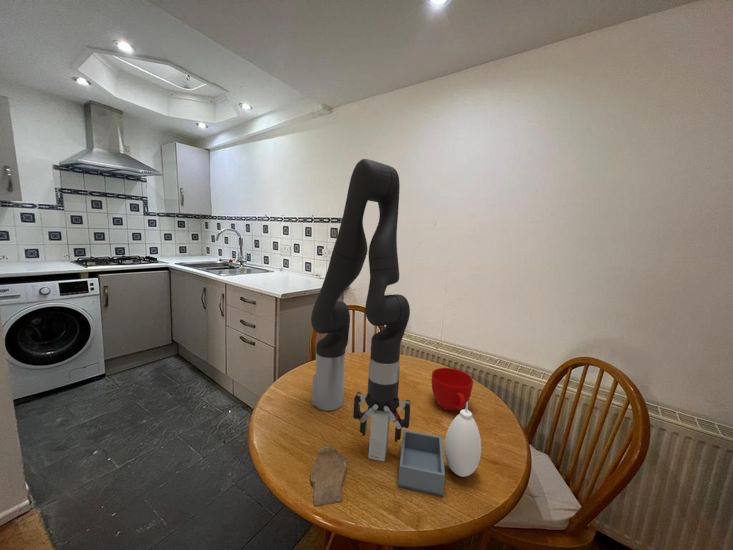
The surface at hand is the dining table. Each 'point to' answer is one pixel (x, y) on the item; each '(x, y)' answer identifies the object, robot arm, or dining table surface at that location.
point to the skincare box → (379, 435)
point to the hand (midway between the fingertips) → (380, 436)
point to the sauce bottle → (463, 444)
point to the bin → (422, 463)
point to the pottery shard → (328, 477)
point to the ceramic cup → (451, 388)
